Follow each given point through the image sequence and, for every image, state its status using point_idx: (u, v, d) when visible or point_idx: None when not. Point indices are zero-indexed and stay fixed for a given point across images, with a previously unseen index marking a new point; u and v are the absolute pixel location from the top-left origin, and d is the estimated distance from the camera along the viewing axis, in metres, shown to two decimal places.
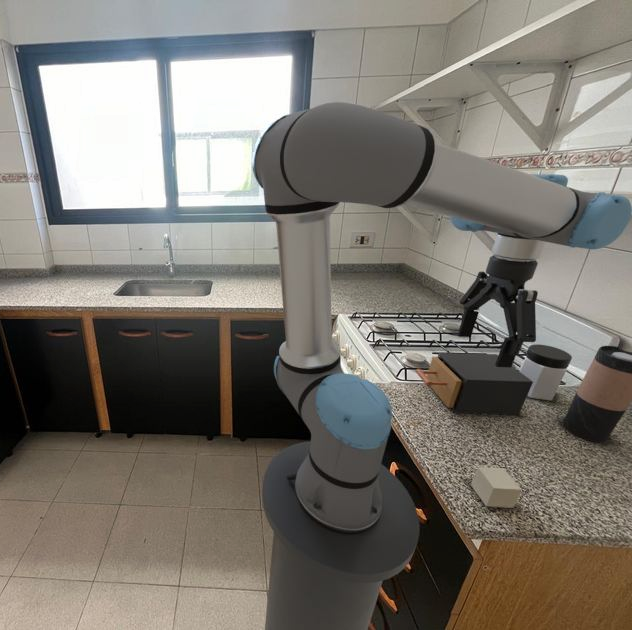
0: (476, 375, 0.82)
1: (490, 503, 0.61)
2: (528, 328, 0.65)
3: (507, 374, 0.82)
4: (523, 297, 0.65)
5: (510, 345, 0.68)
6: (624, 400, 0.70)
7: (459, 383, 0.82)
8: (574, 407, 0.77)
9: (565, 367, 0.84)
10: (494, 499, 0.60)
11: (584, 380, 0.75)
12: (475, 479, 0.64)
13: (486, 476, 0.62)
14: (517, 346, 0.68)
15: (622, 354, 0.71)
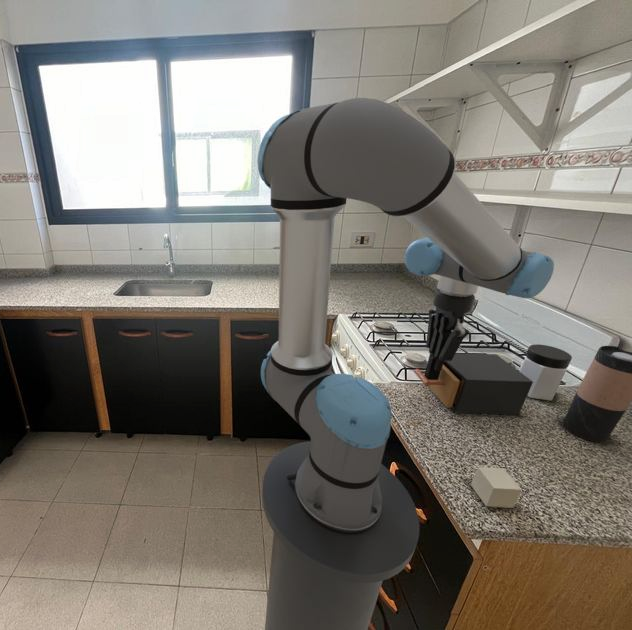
0: (476, 375, 0.82)
1: (490, 503, 0.61)
2: (449, 353, 0.81)
3: (507, 374, 0.82)
4: (455, 335, 0.77)
5: (435, 362, 0.85)
6: (624, 400, 0.70)
7: (457, 383, 0.82)
8: (574, 407, 0.77)
9: (565, 367, 0.84)
10: (494, 499, 0.60)
11: (584, 380, 0.75)
12: (475, 479, 0.64)
13: (486, 476, 0.62)
14: (440, 363, 0.84)
15: (622, 354, 0.71)
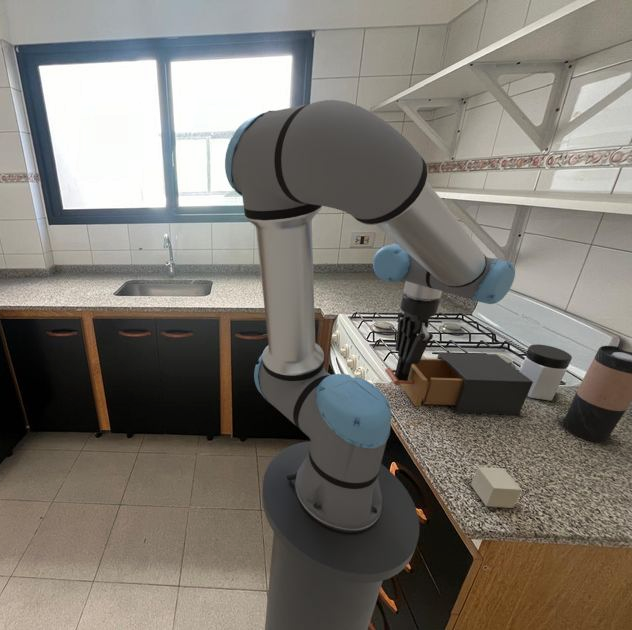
0: (476, 375, 0.82)
1: (490, 503, 0.61)
2: (415, 357, 0.82)
3: (507, 374, 0.82)
4: (420, 339, 0.78)
5: (403, 365, 0.86)
6: (624, 400, 0.70)
7: (425, 382, 0.82)
8: (574, 407, 0.77)
9: (565, 367, 0.84)
10: (494, 499, 0.60)
11: (584, 380, 0.75)
12: (475, 479, 0.64)
13: (486, 476, 0.62)
14: (407, 366, 0.85)
15: (622, 354, 0.71)
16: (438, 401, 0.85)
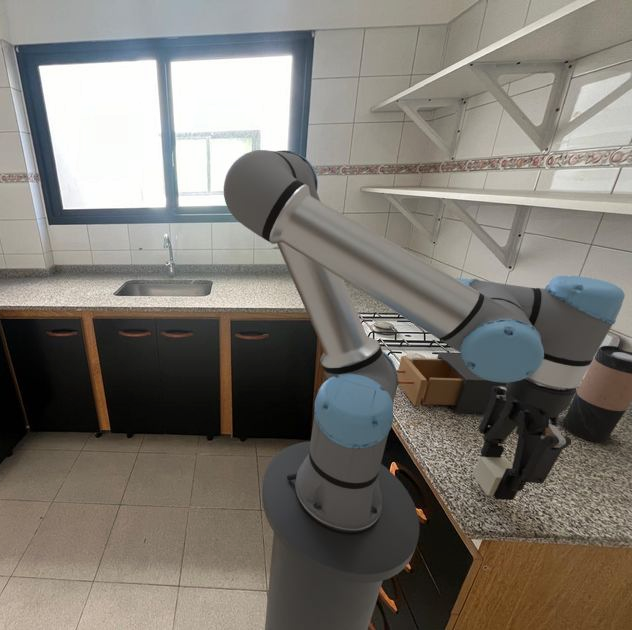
0: (476, 375, 0.82)
1: (492, 492, 0.60)
2: (539, 472, 0.53)
3: None
4: (550, 445, 0.50)
5: (512, 478, 0.57)
6: (624, 400, 0.70)
7: (424, 382, 0.82)
8: (574, 407, 0.77)
9: None
10: (496, 488, 0.60)
11: (584, 380, 0.75)
12: (477, 468, 0.63)
13: (488, 466, 0.61)
14: (521, 482, 0.56)
15: (622, 354, 0.71)
16: (437, 401, 0.85)
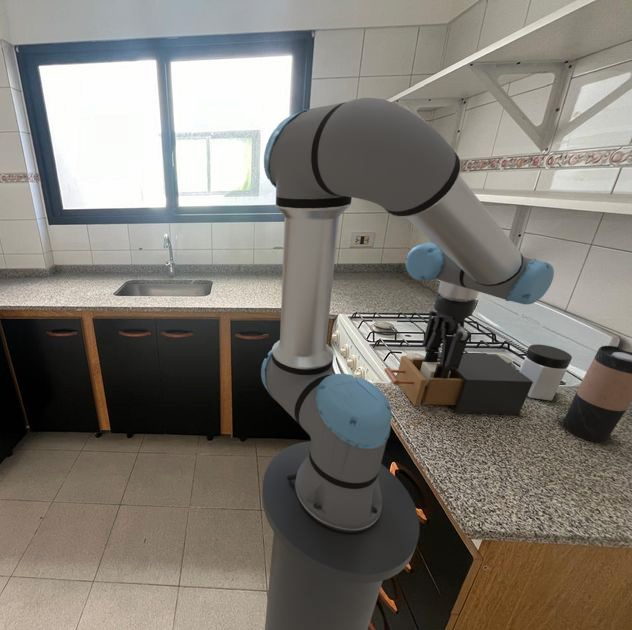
0: (476, 375, 0.82)
1: None
2: (454, 360, 0.79)
3: (507, 374, 0.82)
4: (458, 338, 0.77)
5: (440, 370, 0.83)
6: (624, 400, 0.70)
7: (424, 382, 0.82)
8: (574, 407, 0.77)
9: (565, 367, 0.84)
10: None
11: (584, 380, 0.75)
12: (421, 371, 0.89)
13: (427, 366, 0.87)
14: (446, 372, 0.82)
15: (622, 354, 0.71)
16: (437, 401, 0.85)
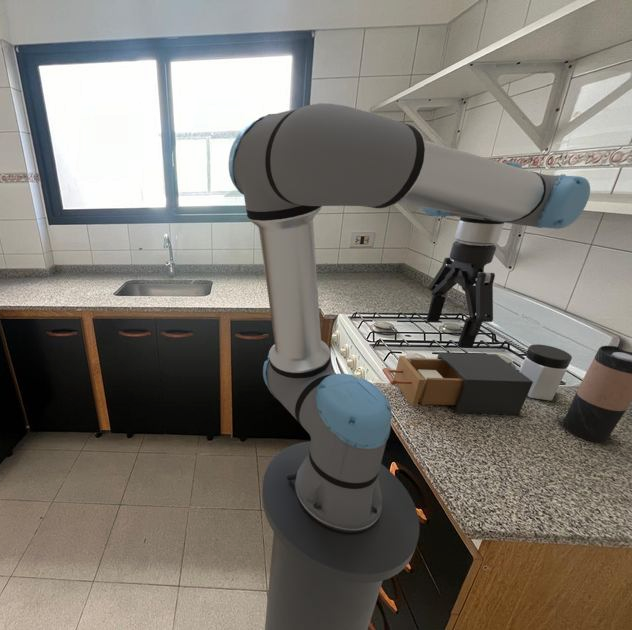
0: (476, 375, 0.82)
1: None
2: (486, 308, 0.68)
3: (507, 374, 0.82)
4: (481, 279, 0.69)
5: (470, 325, 0.72)
6: (624, 400, 0.70)
7: (422, 382, 0.82)
8: (574, 407, 0.77)
9: (565, 367, 0.84)
10: None
11: (584, 380, 0.75)
12: None
13: (422, 374, 0.88)
14: (476, 326, 0.71)
15: (622, 354, 0.71)
16: (435, 401, 0.85)
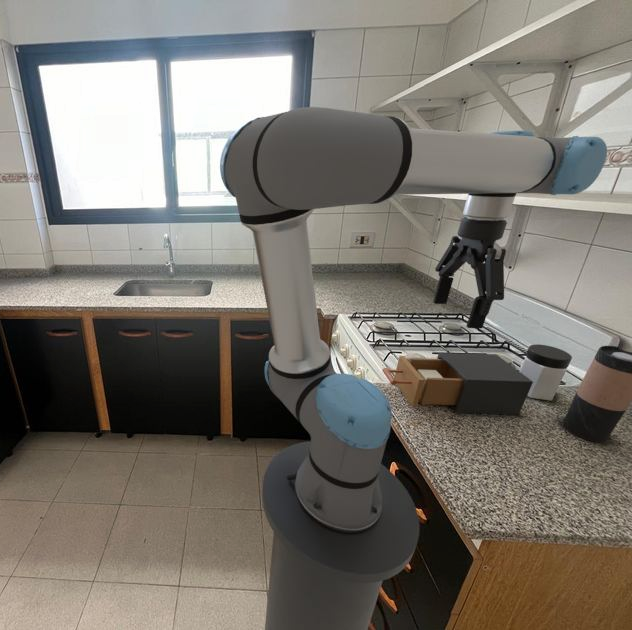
0: (476, 375, 0.82)
1: None
2: (496, 286, 0.65)
3: (507, 374, 0.82)
4: (491, 255, 0.66)
5: (480, 304, 0.69)
6: (624, 400, 0.70)
7: (422, 382, 0.82)
8: (574, 407, 0.77)
9: (565, 367, 0.84)
10: None
11: (584, 380, 0.75)
12: None
13: (422, 374, 0.88)
14: (487, 305, 0.68)
15: (622, 354, 0.71)
16: (435, 401, 0.85)
